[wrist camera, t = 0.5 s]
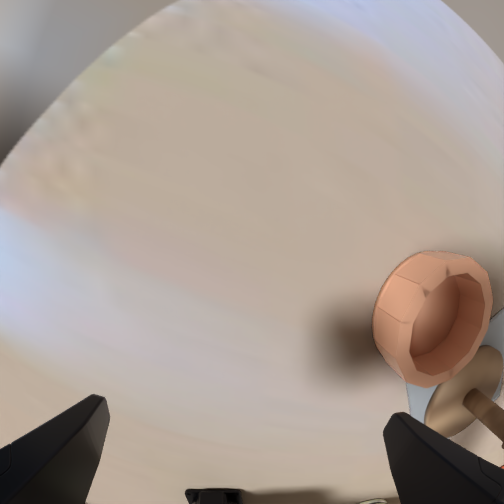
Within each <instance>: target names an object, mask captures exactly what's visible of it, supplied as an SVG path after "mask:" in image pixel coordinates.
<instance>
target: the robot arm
mask: <svg viewBox="0 0 504 504" xmlns="http://www.w3.org/2000/svg"><path fill="white" fill-rule="evenodd" d="M109 422H110V414H109V409H108V405H107V401H106V398H105V397H103V396H99V395H96V394H92V395H90V396H88V397H87V398H85V399H83V400H82V401H80V402H78V403H77V404H75V405H74V406H72V407H70V408H69V409H67V410H66V411H64V412H62V413H61V414H59V415H57V416H56V417H54V418H52V419H51V420H49V421H47V422H46V423H44V424H42V425H41V426H39V427H37V428H36V429H34V430H32V431H31V432H29V433H27V434H25V435H24V436H22V437H20V438H19V439H17V440H15V441H13V442H12V443H11V444H8V445H6V446H4V447H3V448H1V449H0V504H85V501H86V498H87V495H88V492H89V490H90V487H91V484H92V481H93V478H94V476H95V473H96V470H97V467H98V465H99V462H100V458H101V454H102V450H103V446H104V442H105V437H106V433H107V429H108V426H109ZM383 437H384V441H385V446H386V451H387V455H388V460H389V465H390V469H391V473H392V476H393V479H394V482H395V486H396V489H397V492H398V495H399V498H400V502H401V504H504V469H503V468H500V467H498V466H496V465H494V464H492V463H490V462H488V461H486V460H484V459H482V458H481V457H478V456H477V455H475V454H473V453H472V452H470V451H468V450H466V449H465V448H463V447H461V446H460V445H458V444H456V443H454V442H453V441H451V440H449V439H448V438H446V437H444V436H443V435H441V434H439V433H438V432H436V431H434V430H433V429H431V428H430V427H428V426H426V425H425V424H423V423H421V422H420V421H418V420H417V419H415V418H413V417H412V416H410V415H409V414H407V413H405V412H399V413H394V414H393V415H392V416H391V418H390V420H389V421H388V423H387V425H386V426H385V428H384V431H383ZM185 495H186V498H187V500H188V502H189V504H243V502H242V496H241V491H240V490H185Z"/></svg>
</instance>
